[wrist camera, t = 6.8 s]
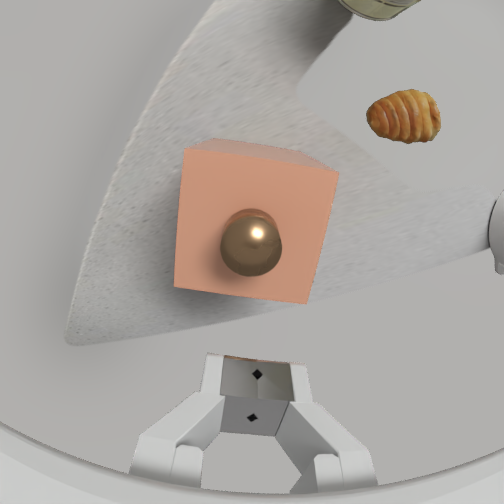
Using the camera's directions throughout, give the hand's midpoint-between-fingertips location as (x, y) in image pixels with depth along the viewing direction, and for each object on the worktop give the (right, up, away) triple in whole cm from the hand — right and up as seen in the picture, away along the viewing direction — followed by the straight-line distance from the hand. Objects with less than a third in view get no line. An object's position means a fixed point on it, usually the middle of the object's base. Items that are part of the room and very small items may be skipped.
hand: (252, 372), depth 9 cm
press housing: (0, +11, +26) cm, 29 cm away
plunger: (0, +9, +21) cm, 23 cm away
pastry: (+19, +20, +23) cm, 36 cm away
